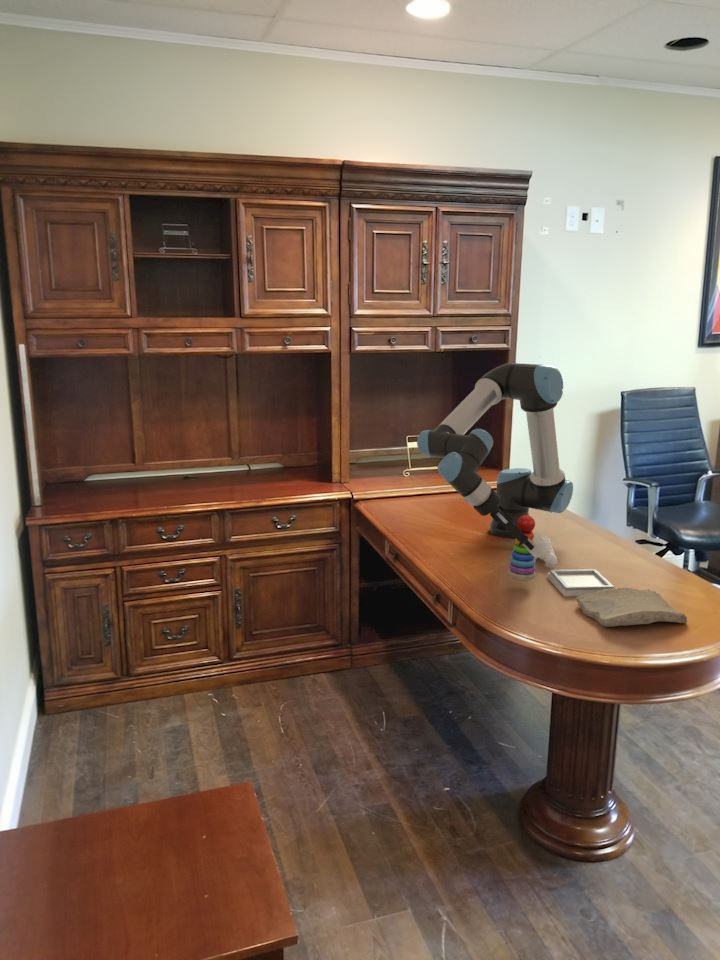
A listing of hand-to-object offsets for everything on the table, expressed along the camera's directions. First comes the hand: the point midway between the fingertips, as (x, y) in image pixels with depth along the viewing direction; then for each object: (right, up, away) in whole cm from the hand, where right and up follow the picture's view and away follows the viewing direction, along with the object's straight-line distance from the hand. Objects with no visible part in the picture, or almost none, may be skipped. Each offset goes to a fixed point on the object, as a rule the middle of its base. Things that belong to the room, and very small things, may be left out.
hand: (535, 551), depth 213 cm
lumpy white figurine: (+8, -6, +22) cm, 24 cm away
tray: (+14, -11, +3) cm, 18 cm away
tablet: (+21, -16, -18) cm, 32 cm away
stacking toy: (-4, -8, +2) cm, 9 cm away
